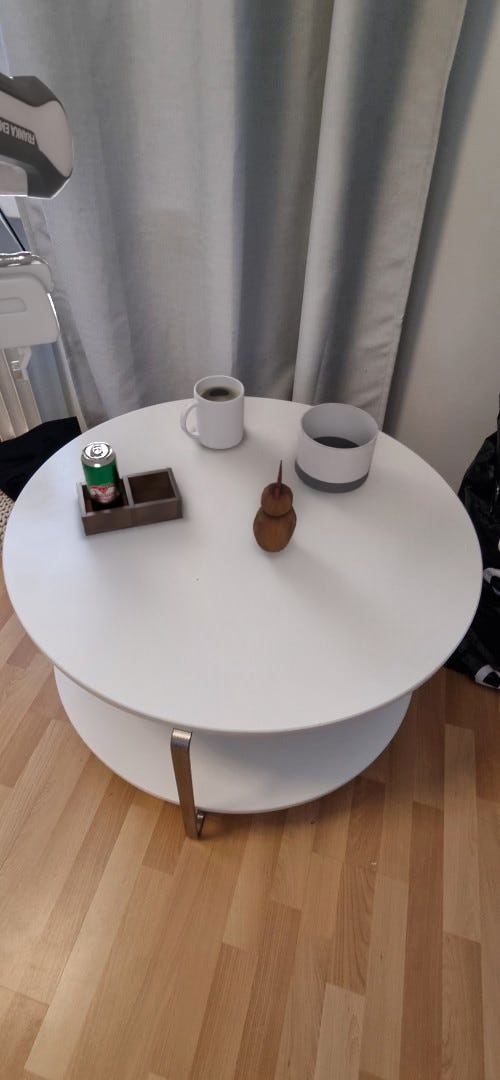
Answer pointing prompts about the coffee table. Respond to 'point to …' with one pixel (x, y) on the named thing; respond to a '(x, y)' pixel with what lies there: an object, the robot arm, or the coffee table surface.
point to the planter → (335, 447)
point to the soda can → (102, 476)
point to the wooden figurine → (275, 516)
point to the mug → (216, 412)
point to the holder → (135, 503)
